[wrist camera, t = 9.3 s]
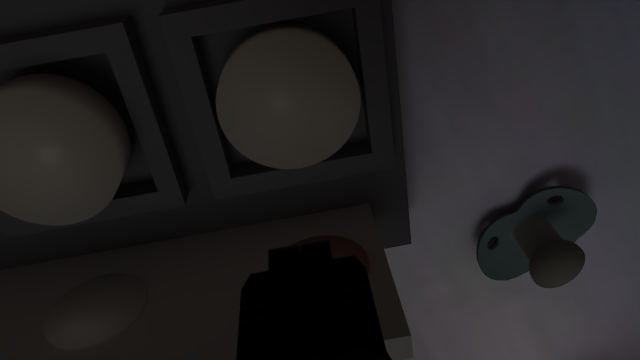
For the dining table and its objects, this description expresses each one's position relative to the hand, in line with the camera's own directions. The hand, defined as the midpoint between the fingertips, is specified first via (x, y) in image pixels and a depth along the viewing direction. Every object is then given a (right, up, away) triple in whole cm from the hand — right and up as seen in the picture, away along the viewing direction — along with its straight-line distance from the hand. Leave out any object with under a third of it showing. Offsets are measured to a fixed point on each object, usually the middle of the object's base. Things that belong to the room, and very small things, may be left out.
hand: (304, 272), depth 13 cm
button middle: (-11, +4, +9) cm, 15 cm away
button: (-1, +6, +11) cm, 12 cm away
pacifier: (+13, 0, +20) cm, 24 cm away
